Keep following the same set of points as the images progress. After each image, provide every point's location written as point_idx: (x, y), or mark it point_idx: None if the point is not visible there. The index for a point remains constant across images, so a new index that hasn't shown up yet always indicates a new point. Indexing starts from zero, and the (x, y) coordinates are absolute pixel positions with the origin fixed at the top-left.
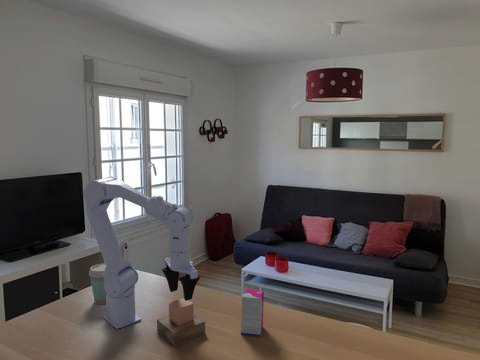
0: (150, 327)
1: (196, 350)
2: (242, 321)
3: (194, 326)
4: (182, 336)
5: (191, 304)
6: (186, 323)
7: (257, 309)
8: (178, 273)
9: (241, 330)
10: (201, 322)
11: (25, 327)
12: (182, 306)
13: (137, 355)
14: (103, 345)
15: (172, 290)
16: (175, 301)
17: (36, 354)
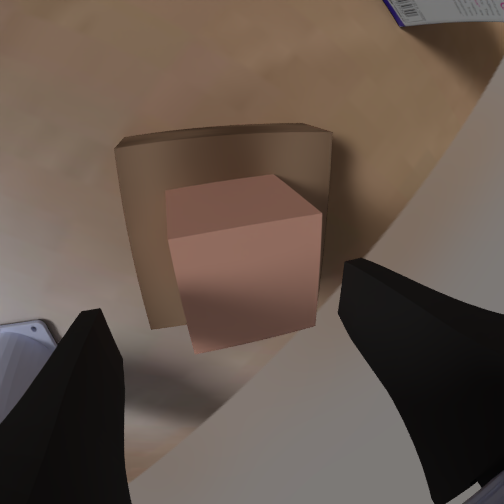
0: (109, 305)
1: (369, 218)
2: (445, 21)
3: (325, 199)
4: None
5: (318, 228)
6: None
7: None
8: (51, 470)
9: (413, 25)
10: (327, 153)
11: None
12: (307, 298)
13: (262, 367)
14: (159, 417)
15: (117, 360)
16: (201, 316)
17: (136, 474)
